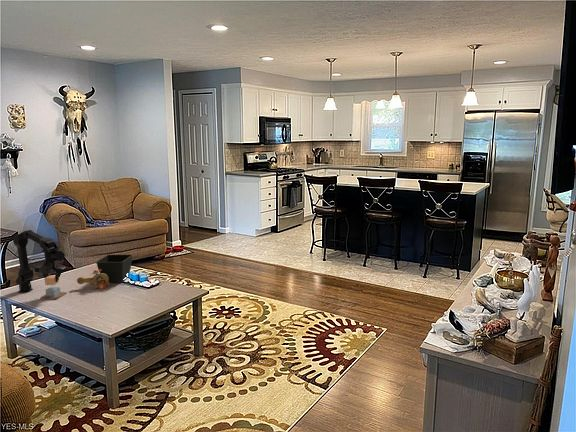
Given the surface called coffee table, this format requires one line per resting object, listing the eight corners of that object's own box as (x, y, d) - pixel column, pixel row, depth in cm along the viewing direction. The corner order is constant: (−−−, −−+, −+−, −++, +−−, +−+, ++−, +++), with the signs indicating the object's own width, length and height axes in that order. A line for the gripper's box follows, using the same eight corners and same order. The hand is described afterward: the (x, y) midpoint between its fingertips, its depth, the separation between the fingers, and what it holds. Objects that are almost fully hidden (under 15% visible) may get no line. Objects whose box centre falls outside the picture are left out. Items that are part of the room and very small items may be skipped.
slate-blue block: (46, 296, 279) (45, 289, 278) (52, 293, 285) (51, 286, 284) (54, 296, 279) (54, 290, 278) (60, 293, 284) (59, 286, 284)
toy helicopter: (107, 290, 294) (105, 270, 291) (75, 290, 292) (73, 271, 290) (110, 285, 302) (109, 267, 299) (80, 286, 300) (78, 267, 298)
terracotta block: (45, 285, 277) (44, 278, 277) (50, 281, 283) (49, 275, 282) (54, 285, 278) (54, 278, 277) (59, 281, 284) (58, 275, 283)
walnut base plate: (40, 299, 277) (40, 297, 277) (51, 292, 288) (51, 291, 288) (56, 299, 276) (56, 298, 276) (66, 293, 287) (66, 292, 287)
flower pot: (97, 284, 305) (95, 261, 302) (109, 275, 323) (107, 254, 320) (123, 284, 304) (122, 262, 301) (134, 276, 323) (132, 254, 320)
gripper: (27, 262, 270) (30, 285, 273) (55, 263, 269) (57, 286, 271) (39, 257, 281) (41, 279, 284) (66, 258, 279) (68, 281, 282)
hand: (52, 282), depth 280 cm, fingers closed on terracotta block, 6 cm apart
